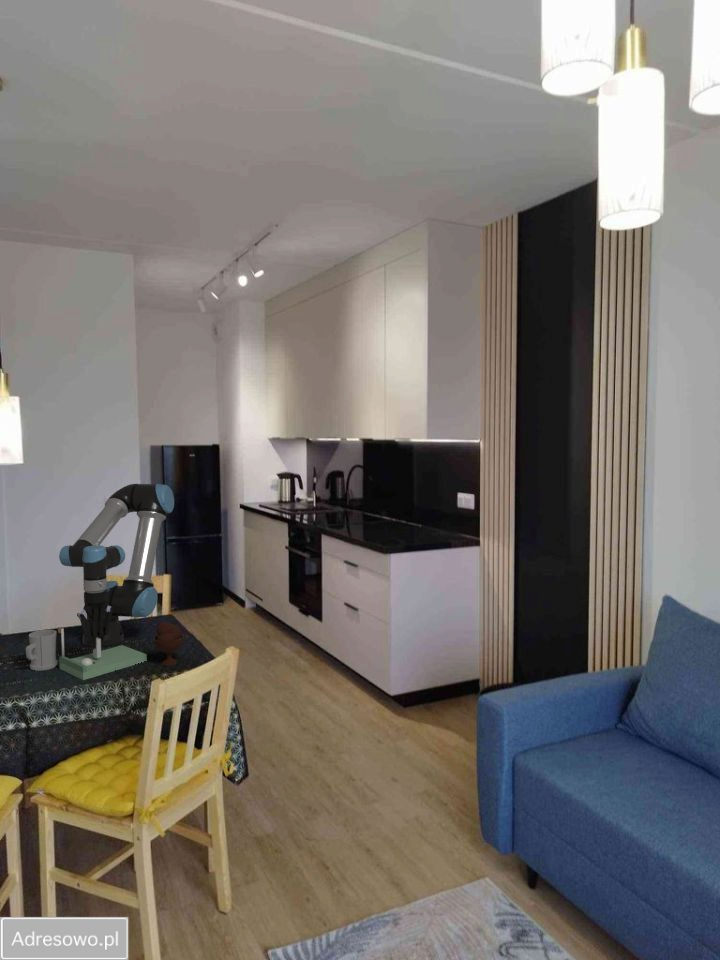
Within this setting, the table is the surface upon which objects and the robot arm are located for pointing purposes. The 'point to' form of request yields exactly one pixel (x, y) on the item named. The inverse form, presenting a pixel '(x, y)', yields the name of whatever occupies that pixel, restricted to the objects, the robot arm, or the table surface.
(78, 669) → the putting mat
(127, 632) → the table surface
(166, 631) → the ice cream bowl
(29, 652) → the cup
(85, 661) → the ball
